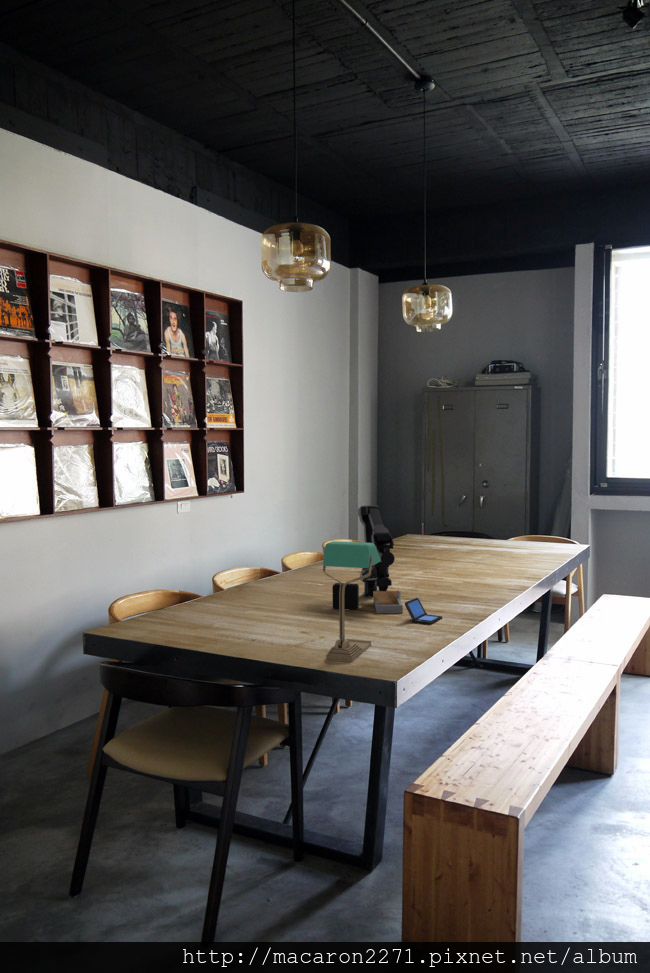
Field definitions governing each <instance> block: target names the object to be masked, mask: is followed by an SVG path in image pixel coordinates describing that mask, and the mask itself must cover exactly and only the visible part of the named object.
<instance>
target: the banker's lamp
mask: <svg viewBox="0 0 650 973" xmlns="http://www.w3.org/2000/svg"><path fill="white" fill-rule="evenodd" d="M380 561H381V560H380V557H379V554H378V551H377V548H376V546H375V545H374V544H373V543H365V542H359V541H357V542H356V541H355V542H354V541H337V540H336V541H335V540H334V541H330V542H327V543H325V546H324V549H323V560H322V562H323V563H322V572H323V573H324V574H325V576H327V577H329V579H332V580H334V581H335V582H336V583H340V592H339V610H338V613H339V614H338V615H339V616H338V617H339V618H338V619H339V623H338V624H339V636H338V637H339V638H338V639H336V640H335V642H334V643H335V644H334V645H333V646H332V647H330V649H329V651H328V652H327V653H326V655H325V660H326V659H330V660H329V661H336V660H340V661H339V662H348V663H353V662H355V661H356V660H357V659H358V658H359V657H360V656H361V655H362V654H364V653H365V652H366V651H367V650H368V649H370V648H371V647H372V640H368V639H354V638H346V635H345V634H346V633H345V632H346V631H345V630H346V629H345V622H346V621H345V618H346V617H345V610H344V593H345V586H346V584H348V583H354V582H357V581H360V579H364V578H367V577H369V576H370V575H371V568H372V566H373V565H375V564H377V563H378V562H380ZM326 567H334V568H335V567H336V568H351V569H352V568H353V569H362V568H369V573H368V574H366V575H364V576H361V577H360V576H359V577H357V578H353V579H351V580H348V581H346V582H344V584H343V585H342V583H343V582H342V581H340V580H338V579H337V578H334V577H333V576H332V575H330V574H329V573H328V572H326ZM369 647H370V648H369ZM363 652H364V653H363ZM357 657H358V658H357ZM356 658H357V659H356Z"/></svg>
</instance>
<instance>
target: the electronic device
mask: <svg viewBox="0 0 650 973" xmlns="http://www.w3.org/2000/svg"><path fill="white" fill-rule="evenodd" d="M341 583H342V585H343V584H344V583H345V582H344V583H343V582H341ZM331 590H332V609H333V610H335V609H339V592H340V583H339V582H335V583H333V584H332V589H331ZM359 590H360V587H359V584H358V583H353V582H351V583H348V584H346V586H345V593H344V609H349V610H348V611H357V610H358V609H359V607H360V598H359V597H360V591H359Z"/></svg>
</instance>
